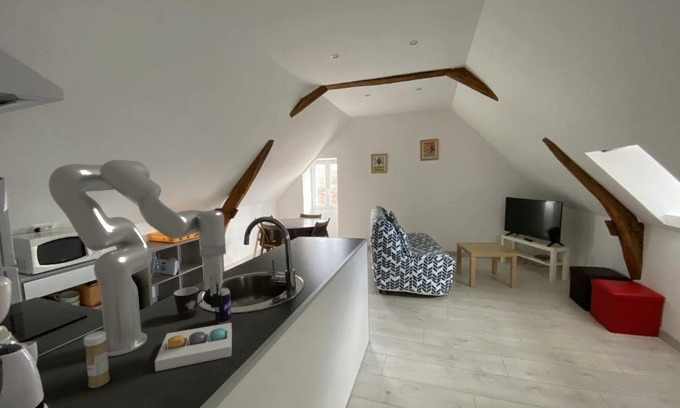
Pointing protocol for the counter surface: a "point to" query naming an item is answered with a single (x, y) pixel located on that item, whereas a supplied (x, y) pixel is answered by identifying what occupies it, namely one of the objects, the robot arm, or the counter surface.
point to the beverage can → (224, 307)
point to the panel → (194, 348)
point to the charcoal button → (197, 338)
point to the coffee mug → (187, 302)
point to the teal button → (217, 334)
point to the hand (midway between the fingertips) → (216, 306)
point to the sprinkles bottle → (97, 359)
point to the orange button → (176, 342)
